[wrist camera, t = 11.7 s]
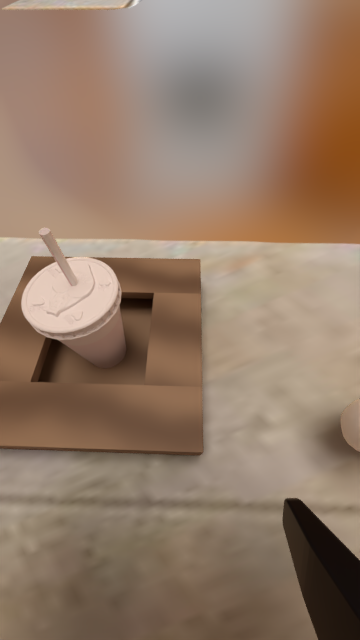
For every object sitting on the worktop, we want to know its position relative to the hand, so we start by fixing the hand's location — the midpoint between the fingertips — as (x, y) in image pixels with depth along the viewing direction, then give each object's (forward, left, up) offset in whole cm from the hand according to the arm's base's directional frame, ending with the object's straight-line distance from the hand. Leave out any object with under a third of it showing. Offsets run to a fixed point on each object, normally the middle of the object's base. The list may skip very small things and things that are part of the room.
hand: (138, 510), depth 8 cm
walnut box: (+11, +6, -14) cm, 19 cm away
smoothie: (+11, +6, -13) cm, 18 cm away
